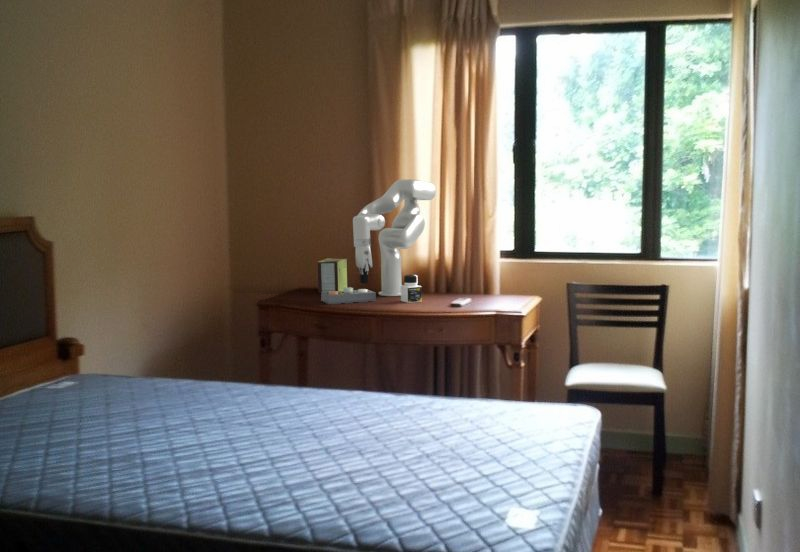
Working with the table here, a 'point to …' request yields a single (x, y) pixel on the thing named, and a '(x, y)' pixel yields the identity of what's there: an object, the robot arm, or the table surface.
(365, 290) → the cream button
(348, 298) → the console
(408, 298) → the medicine bottle
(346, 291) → the sage button
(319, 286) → the protein box
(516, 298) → the table surface
